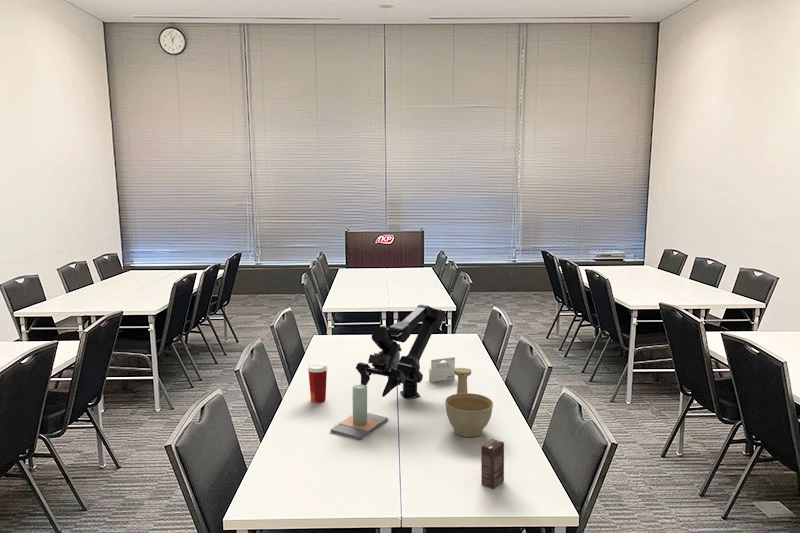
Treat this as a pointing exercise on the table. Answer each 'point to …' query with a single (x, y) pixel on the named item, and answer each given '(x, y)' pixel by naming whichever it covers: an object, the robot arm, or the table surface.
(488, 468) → the box
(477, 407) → the planter bowl
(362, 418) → the green cylinder
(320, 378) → the paper cup
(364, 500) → the table surface
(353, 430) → the grey orange flat block
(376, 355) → the architectural model on board
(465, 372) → the handle
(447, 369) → the ink cartridge box
